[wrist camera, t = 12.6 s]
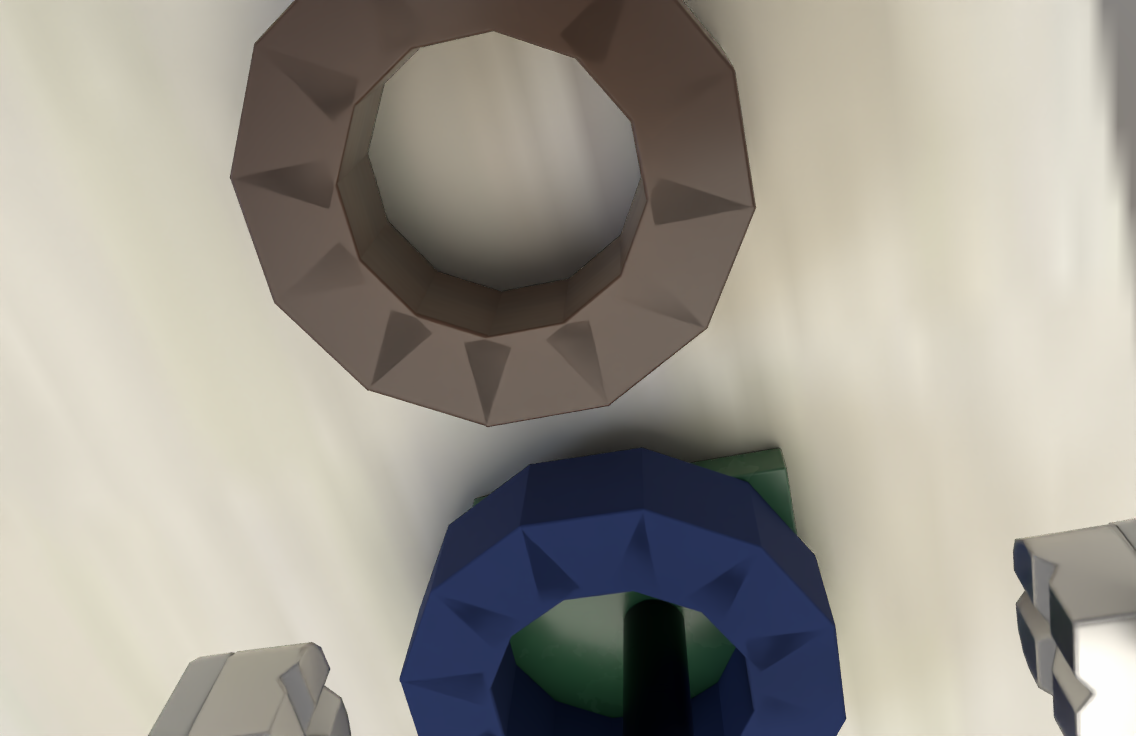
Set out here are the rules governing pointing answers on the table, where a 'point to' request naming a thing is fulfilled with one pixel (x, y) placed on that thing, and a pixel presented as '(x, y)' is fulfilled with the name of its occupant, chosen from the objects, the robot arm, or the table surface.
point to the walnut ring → (465, 309)
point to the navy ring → (615, 565)
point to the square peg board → (641, 636)
